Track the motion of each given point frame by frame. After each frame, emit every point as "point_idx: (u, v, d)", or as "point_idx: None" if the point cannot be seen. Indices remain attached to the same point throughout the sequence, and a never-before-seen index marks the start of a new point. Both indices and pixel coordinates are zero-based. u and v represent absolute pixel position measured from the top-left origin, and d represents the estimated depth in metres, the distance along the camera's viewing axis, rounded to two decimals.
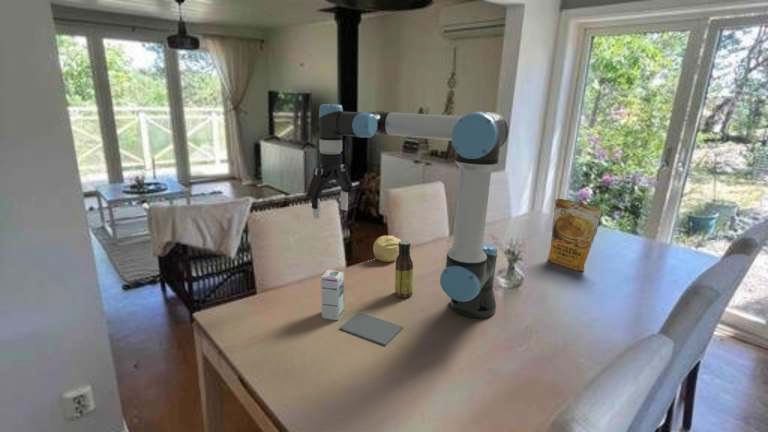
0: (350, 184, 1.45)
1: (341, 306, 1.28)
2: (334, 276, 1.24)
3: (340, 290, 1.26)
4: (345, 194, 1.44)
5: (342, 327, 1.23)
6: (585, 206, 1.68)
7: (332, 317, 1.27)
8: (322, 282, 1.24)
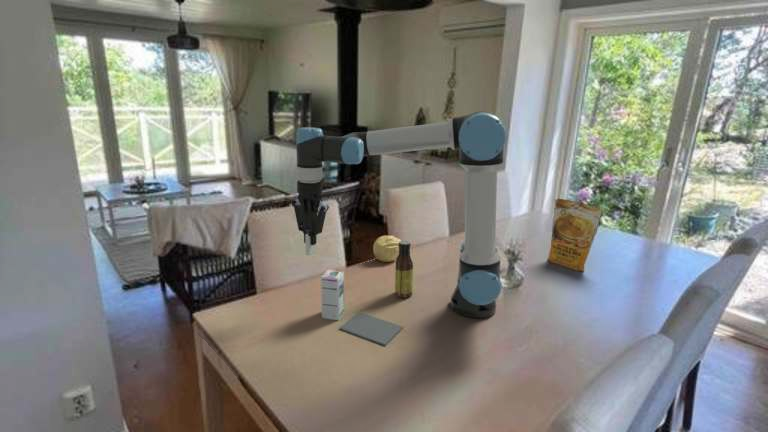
0: (316, 228, 1.23)
1: (341, 306, 1.28)
2: (334, 276, 1.24)
3: (340, 290, 1.26)
4: None
5: (342, 327, 1.23)
6: (585, 206, 1.68)
7: (332, 317, 1.27)
8: (322, 282, 1.24)
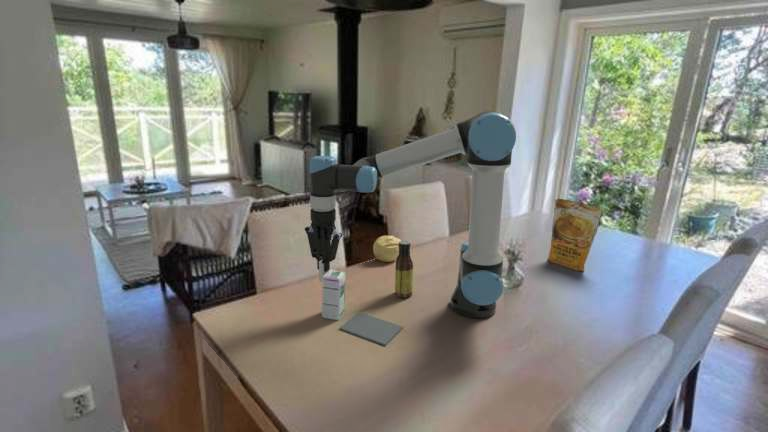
0: (329, 255, 1.24)
1: (341, 306, 1.28)
2: (336, 276, 1.24)
3: (341, 290, 1.26)
4: None
5: (342, 327, 1.23)
6: (585, 206, 1.68)
7: (332, 317, 1.27)
8: (323, 282, 1.24)
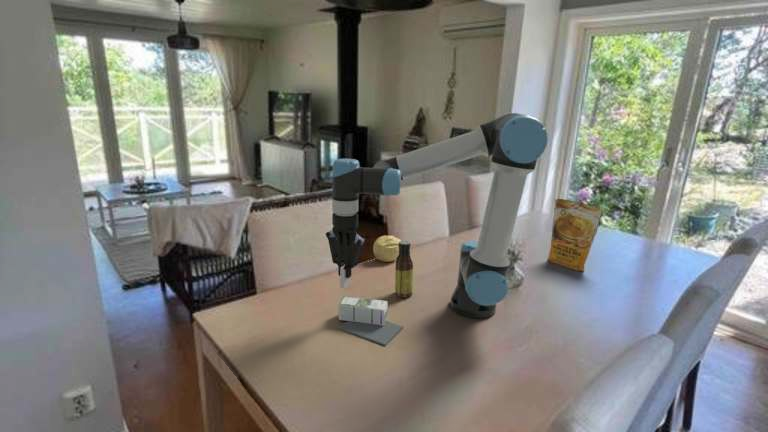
0: (352, 261, 1.20)
1: None
2: (384, 320, 1.24)
3: None
4: None
5: (342, 327, 1.23)
6: (585, 206, 1.68)
7: (341, 314, 1.25)
8: (378, 310, 1.22)
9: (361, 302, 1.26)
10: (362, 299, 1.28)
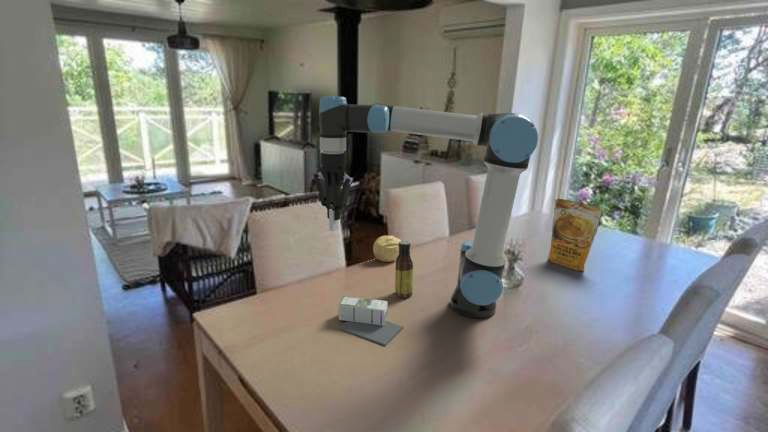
0: (340, 202, 1.19)
1: None
2: (384, 320, 1.24)
3: None
4: None
5: (342, 327, 1.23)
6: (585, 206, 1.68)
7: (340, 314, 1.25)
8: (378, 310, 1.22)
9: (361, 302, 1.26)
10: (362, 299, 1.28)
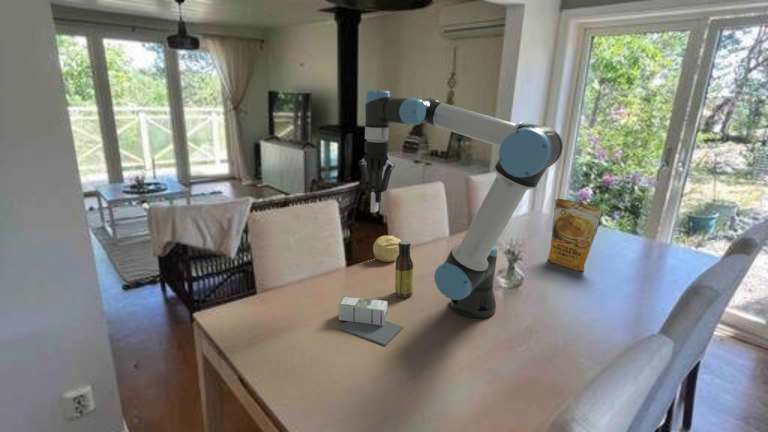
0: (382, 186, 1.32)
1: None
2: (384, 320, 1.24)
3: None
4: None
5: (342, 327, 1.23)
6: (585, 206, 1.68)
7: (340, 314, 1.25)
8: (378, 310, 1.22)
9: (361, 302, 1.26)
10: (362, 299, 1.28)
